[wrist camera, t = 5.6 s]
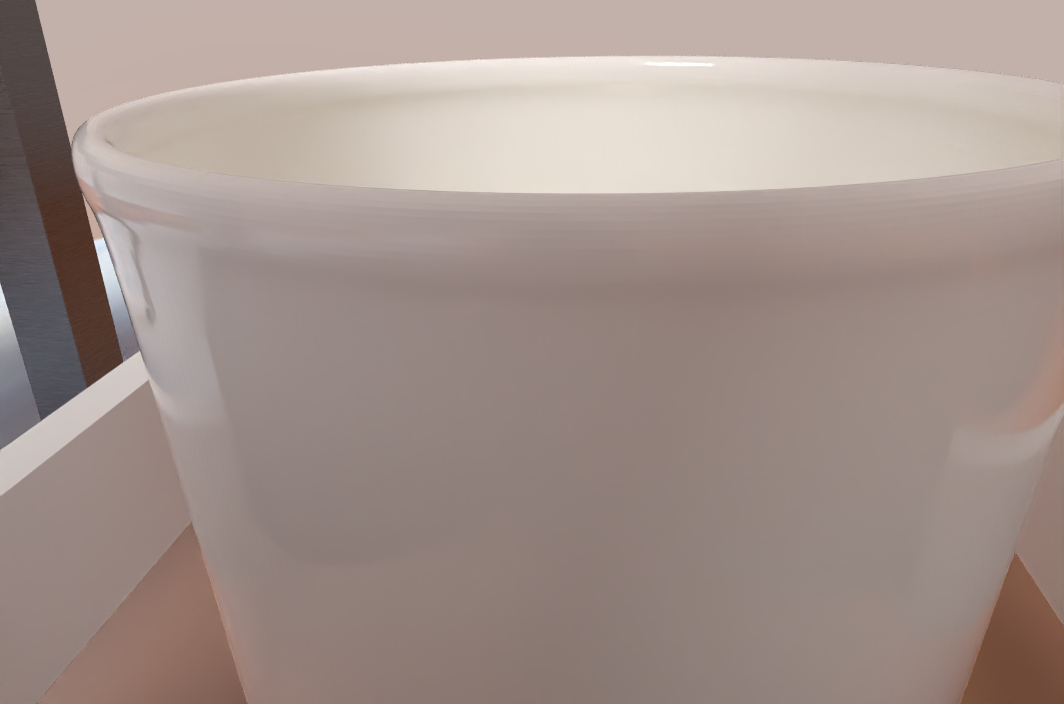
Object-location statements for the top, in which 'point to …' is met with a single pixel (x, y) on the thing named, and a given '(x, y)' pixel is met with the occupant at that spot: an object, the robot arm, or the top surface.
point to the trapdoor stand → (46, 227)
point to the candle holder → (598, 369)
